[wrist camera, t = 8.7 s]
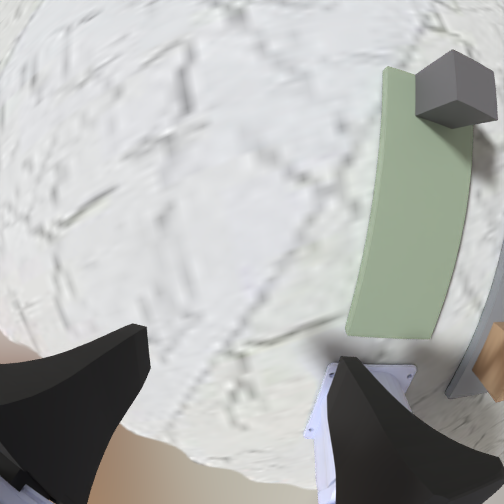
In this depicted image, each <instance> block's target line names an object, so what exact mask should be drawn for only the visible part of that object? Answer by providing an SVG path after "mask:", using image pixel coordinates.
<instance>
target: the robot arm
mask: <svg viewBox="0 0 504 504" xmlns="http://www.w3.org/2000/svg"><path fill="white" fill-rule="evenodd" d="M150 369H151V366H150V358H149V348H148V337H147V327H145V326H141V325H137V324H130V325H127V326H125V327H123V328H120V329H118V330H116V331H114V332H111V333H109V334H107V335H105V336H103V337H100V338H98V339H96V340H94V341H92V342H89V343H87V344H84V345H82V346H79V347H77V348H74V349H72V350H69V351H66V352H63V353H60V354H57V355H53V356H50V357H46V358H42V359H37V360H32V361H26V362H20V363H11V364H0V504H54V503H56V504H87V502H88V498H89V494H90V490H91V487H92V484H93V481H94V478H95V475H96V472H97V470H98V467H99V465H100V462H101V459H102V457H103V455H104V452H105V450H106V448H107V446H108V443H109V441H110V439H111V437H112V435H113V433H114V431H115V429H116V427H117V426H118V425H119V423H120V421H121V420H122V418H123V417H124V415H125V414H126V412H127V411H128V409H129V407H130V406H131V404H132V403H133V401H134V400H135V398H136V397H137V395H138V393H139V392H140V390H141V389H142V387H143V384H144V382H145V380H146V378H147V376H148V373H149V371H150ZM416 371H417V368H416V366H415V365H378V364H362V362H361V361H360V360H359V359H358V358H357V357H343V356H341V357H340V360H339V363H331V364H329V365H328V367H327V370H326V373H325V376H324V379H323V382H322V385H321V388H320V391H319V394H318V396H317V399H316V402H315V405H314V407H313V410H312V413H311V416H310V418H309V421H308V423H307V426H306V428H305V431H304V438H307V439H314V452H315V471H316V485H317V489H318V491H319V492H318V504H482V503H483V502H484V501H486V500H487V499H488V498H489V497H491V496H492V495H493V494H494V493H495V492H496V491H497V490H499V488H501V487H502V485H503V484H504V466H503V464H502V462H501V460H500V458H499V457H496V456H492V455H489V454H486V453H483V452H479V451H476V450H474V449H471V448H469V447H467V446H464V445H462V444H460V443H458V442H456V441H454V440H452V439H450V438H448V437H446V436H445V435H443V434H441V433H440V432H438V431H436V430H435V429H433V428H432V427H430V426H429V425H427V424H426V423H424V422H423V421H422V420H420V419H419V418H418V417H416V416H415V415H414V414H413V412H412V410H411V408H410V405H409V403H408V401H407V399H406V397H405V393H406V391H407V389H408V387H409V385H410V383H411V381H412V379H413V377H414V375H415V373H416ZM330 373H334V374H332V375H330ZM409 374H410V375H409ZM408 375H409V376H408ZM49 500H51V501H52V502H54V503H52V502H51V501H49Z"/></svg>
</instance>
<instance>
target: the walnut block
mask: <svg viewBox="0 0 504 504" xmlns="http://www.w3.org/2000/svg"><path fill="white" fill-rule="evenodd" d="M472 371H473V372H474V374H475V375H476V376H477V377H478V379H479V380H480V381H481V383H482V384H483V385H484V387H485V388H486V390H487V391H488V392H489V394H490V395H491V396H492V398H493V399H494V401H495V402H496V403H497V402H500V401H504V322H494V323H493V325H492V328H491V330H490V332H489V335H488V337H487V339H486V341H485V344H484V346H483V348H482V350H481V352H480V354H479V356H478V358H477V360H476V362H475V364H474V366H473V368H472Z"/></svg>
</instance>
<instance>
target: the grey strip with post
mask: <svg viewBox="0 0 504 504" xmlns="http://www.w3.org/2000/svg"><path fill="white" fill-rule="evenodd" d="M494 322H504V242H503V246H502V251H501V255H500V259H499V263H498V267H497V270H496V274H495V277H494V281H493V284H492V287H491V290H490V294H489V297H488V300H487V302H486V305H485V308H484V311H483V313H482V316H481V319H480V321H479V324H478V326H477V329H476V331H475V334H474V336H473V338H472V341H471V343H470V345H469V347H468V349H467V352H466V354H465V356H464V358H463V360H462V362H461V364H460V366H459V368H458V370H457V372H456V374H455V376H454V377H453V379H452V381H451V383H450V385H449V386H448V388H447V390H446V392H445V394H446V396H447V397H448V399H453V398H459V397H465V396H471V395H476V394H482V393H486V392H488V391H487V390H486V388H485V387H484V385H483V384H482V383H481V381H480V380H479V379H478V377H477V376H476V375H475V374H474V372H473V371H472V368H473V366H474V364H475V362H476V360H477V358H478V356H479V354H480V352H481V350H482V348H483V346H484V344H485V341H486V339H487V337H488V335H489V332H490V330H491V328H492V325H493V323H494Z"/></svg>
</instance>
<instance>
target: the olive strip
mask: <svg viewBox="0 0 504 504" xmlns="http://www.w3.org/2000/svg"><path fill="white" fill-rule="evenodd" d="M496 120H498V114H497V98H496V87H495V79H494V72H493V71H492V70H490V69H488V68H487V67H485V66H483V65H482V64H480V63H478V62H476V61H474V60H473V59H471V58H469V57H467V56H465V55H463V54H461V53H459V52H457V51H455V50H453V49H452V50H451V51H449V52H448V53H446V54H445V55H443V56H442V57H440V58H439V59H437V60H436V61H434V62H433V63H432V64H430V65H429V66H427V67H426V68H424V69H423V70H421V71H420V72H419V73H417V74H416V75H414V74H411V73H408V72H405V71H402V70H399V69H396V68H392V67H389V66H387V67H386V68H385V69H384V70H383V88H382V114H381V130H380V143H379V153H378V163H377V172H376V180H375V188H374V195H373V202H372V208H371V214H370V220H369V226H368V232H367V237H366V242H365V247H364V252H363V257H362V262H361V267H360V271H359V276H358V280H357V284H356V288H355V292H354V296H353V300H352V304H351V308H350V312H349V316H348V319H347V323H346V326H345V330H346V333H347V336H359V337H375V338H395V339H430V338H431V335H432V333H433V330H434V328H435V325H436V322H437V320H438V317H439V314H440V311H441V308H442V305H443V302H444V299H445V296H446V293H447V290H448V287H449V283H450V280H451V277H452V273H453V269H454V266H455V262H456V258H457V254H458V249H459V245H460V240H461V236H462V231H463V226H464V220H465V214H466V208H467V202H468V194H469V186H470V177H471V166H472V150H473V125H474V124H480V123H485V122H490V121H496Z"/></svg>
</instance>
